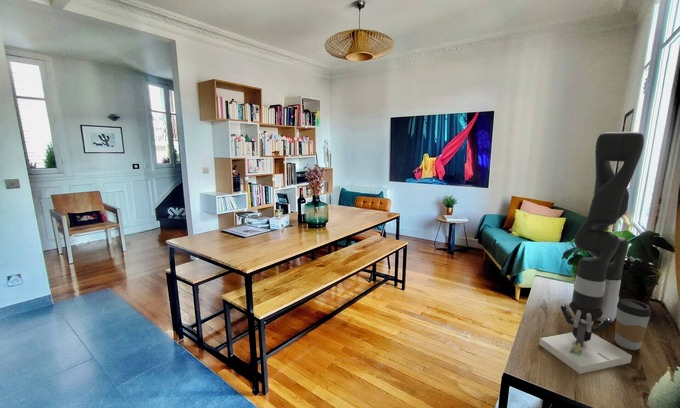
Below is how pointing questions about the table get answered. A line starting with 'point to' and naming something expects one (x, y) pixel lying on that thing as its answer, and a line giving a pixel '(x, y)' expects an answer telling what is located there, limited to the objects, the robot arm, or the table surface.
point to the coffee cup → (631, 323)
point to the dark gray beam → (580, 335)
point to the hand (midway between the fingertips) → (581, 338)
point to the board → (585, 352)
